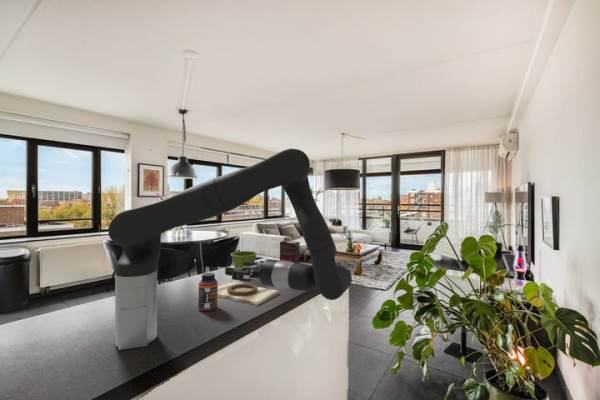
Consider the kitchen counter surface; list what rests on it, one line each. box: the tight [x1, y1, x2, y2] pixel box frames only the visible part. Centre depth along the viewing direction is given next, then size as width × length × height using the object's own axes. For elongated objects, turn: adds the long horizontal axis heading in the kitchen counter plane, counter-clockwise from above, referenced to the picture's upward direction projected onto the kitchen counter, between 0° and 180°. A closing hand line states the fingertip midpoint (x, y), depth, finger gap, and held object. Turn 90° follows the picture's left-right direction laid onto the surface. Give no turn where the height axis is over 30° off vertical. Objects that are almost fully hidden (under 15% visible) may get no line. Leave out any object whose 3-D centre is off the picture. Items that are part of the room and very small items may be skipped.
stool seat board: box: [217, 281, 280, 306], centre depth 109 cm, size 24×14×2 cm, turn 62°
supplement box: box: [279, 240, 301, 264], centre depth 136 cm, size 9×5×16 cm, turn 58°
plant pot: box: [230, 250, 258, 271], centre depth 130 cm, size 12×12×11 cm
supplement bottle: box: [197, 272, 219, 312], centre depth 94 cm, size 6×6×11 cm
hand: (235, 267), depth 89 cm, fingers open, 8 cm apart
